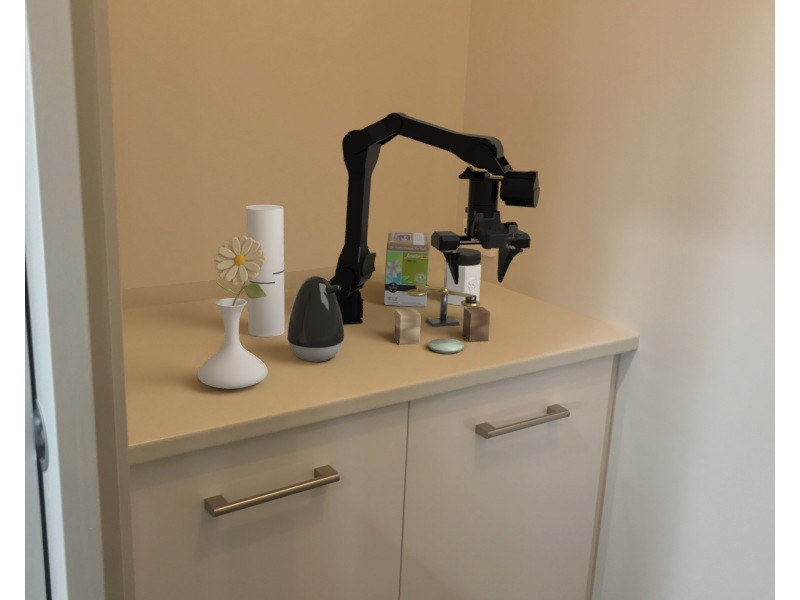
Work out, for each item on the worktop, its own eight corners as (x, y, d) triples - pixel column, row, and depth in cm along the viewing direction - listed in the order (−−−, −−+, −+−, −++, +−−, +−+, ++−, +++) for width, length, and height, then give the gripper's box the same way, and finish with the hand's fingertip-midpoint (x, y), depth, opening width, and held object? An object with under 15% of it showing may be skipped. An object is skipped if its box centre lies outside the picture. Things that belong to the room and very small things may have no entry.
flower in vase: (182, 384, 126) (175, 233, 120) (231, 365, 136) (228, 224, 129) (242, 403, 120) (238, 244, 113) (289, 381, 129) (289, 233, 123)
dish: (434, 355, 144) (435, 350, 144) (424, 344, 150) (424, 339, 150) (468, 353, 146) (468, 348, 146) (456, 342, 152) (456, 337, 152)
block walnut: (469, 342, 152) (471, 313, 151) (462, 336, 156) (463, 307, 155) (488, 341, 154) (490, 312, 152) (480, 335, 157) (482, 306, 156)
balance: (409, 328, 160) (411, 287, 158) (404, 322, 164) (405, 282, 162) (481, 324, 165) (484, 284, 162) (474, 318, 168) (477, 280, 166)
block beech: (399, 345, 150) (400, 315, 148) (394, 338, 153) (395, 309, 152) (419, 343, 151) (420, 314, 149) (413, 337, 154) (414, 308, 153)
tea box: (427, 307, 176) (430, 243, 172) (383, 306, 176) (385, 242, 172) (426, 291, 190) (428, 231, 186) (385, 289, 190) (387, 230, 186)
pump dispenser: (321, 371, 134) (322, 286, 130) (275, 359, 140) (274, 277, 136) (355, 355, 143) (357, 275, 139) (311, 344, 148) (311, 267, 144)
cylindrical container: (291, 332, 155) (291, 207, 149) (263, 339, 150) (261, 211, 144) (269, 324, 160) (268, 203, 153) (241, 331, 155) (238, 206, 148)
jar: (456, 308, 176) (459, 256, 173) (435, 299, 183) (437, 249, 179) (486, 303, 181) (490, 252, 178) (465, 295, 187) (468, 246, 184)
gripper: (451, 211, 138) (447, 295, 142) (546, 209, 143) (539, 291, 147) (431, 202, 148) (428, 281, 152) (520, 201, 153) (515, 277, 157)
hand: (478, 283), depth 152 cm, fingers open, 9 cm apart
